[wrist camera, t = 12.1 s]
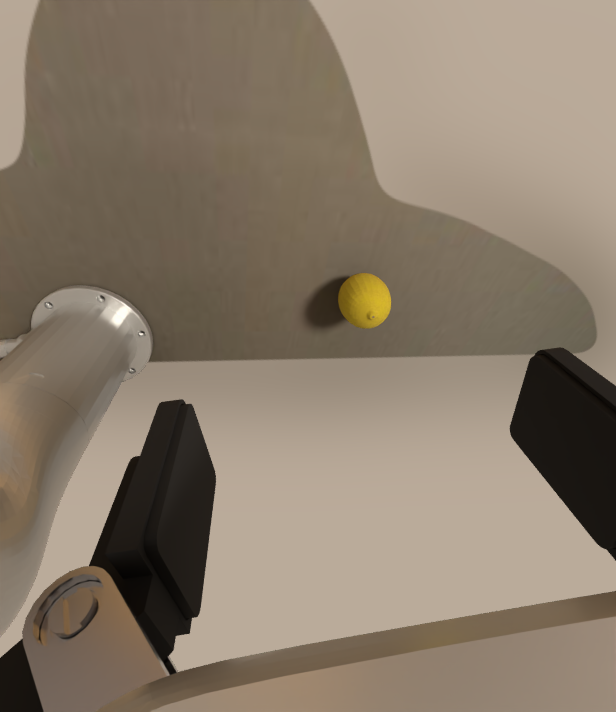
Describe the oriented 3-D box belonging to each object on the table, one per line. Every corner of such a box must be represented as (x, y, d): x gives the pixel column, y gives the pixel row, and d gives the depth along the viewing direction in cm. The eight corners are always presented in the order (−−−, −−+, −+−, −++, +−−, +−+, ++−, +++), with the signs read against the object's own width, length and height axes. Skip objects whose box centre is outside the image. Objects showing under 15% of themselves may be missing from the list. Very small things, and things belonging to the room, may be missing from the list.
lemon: (327, 303, 44) (339, 335, 37) (341, 258, 41) (356, 285, 34) (369, 311, 45) (388, 344, 38) (386, 269, 42) (409, 297, 36)
